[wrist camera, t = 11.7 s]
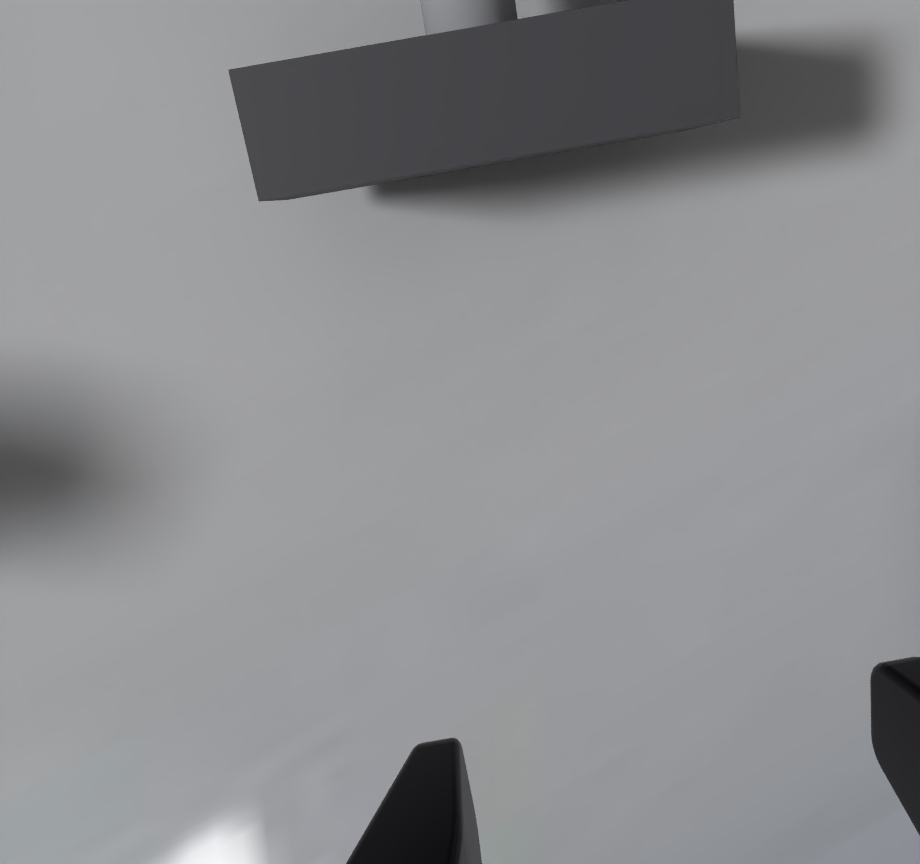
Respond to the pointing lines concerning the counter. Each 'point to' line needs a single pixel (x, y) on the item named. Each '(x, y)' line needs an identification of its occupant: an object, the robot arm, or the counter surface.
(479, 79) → the vise jaw
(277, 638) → the counter surface
